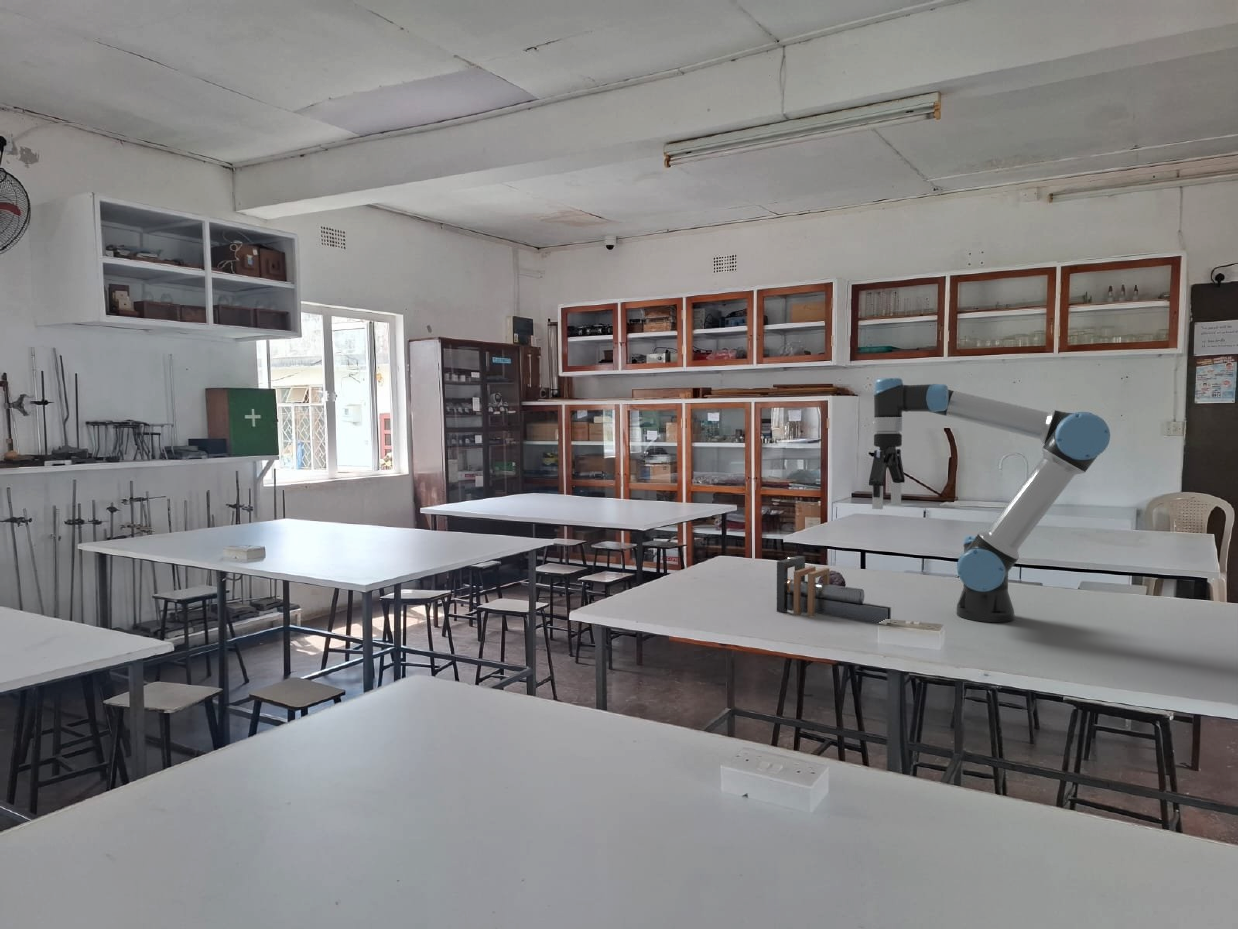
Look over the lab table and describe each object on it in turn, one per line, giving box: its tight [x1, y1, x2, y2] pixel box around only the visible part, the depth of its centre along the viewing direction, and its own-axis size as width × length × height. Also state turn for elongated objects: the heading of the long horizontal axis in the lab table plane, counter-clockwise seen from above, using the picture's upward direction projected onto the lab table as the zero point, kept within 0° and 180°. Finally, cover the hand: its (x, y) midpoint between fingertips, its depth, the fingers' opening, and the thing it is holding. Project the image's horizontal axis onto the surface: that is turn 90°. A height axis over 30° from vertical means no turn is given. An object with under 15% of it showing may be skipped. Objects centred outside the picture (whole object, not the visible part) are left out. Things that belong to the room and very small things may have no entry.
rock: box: [817, 570, 847, 587], centre depth 250 cm, size 12×9×10 cm
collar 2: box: [807, 567, 831, 618], centre depth 233 cm, size 2×11×12 cm, turn 140°
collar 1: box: [793, 565, 817, 615], centre depth 236 cm, size 2×11×12 cm, turn 140°
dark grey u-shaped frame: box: [776, 555, 806, 614], centre depth 239 cm, size 2×13×15 cm, turn 140°
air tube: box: [788, 578, 865, 605], centre depth 232 cm, size 24×4×4 cm, turn 50°
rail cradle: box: [788, 594, 892, 624], centre depth 230 cm, size 32×3×4 cm, turn 50°
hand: (886, 507), depth 227 cm, fingers open, 13 cm apart
